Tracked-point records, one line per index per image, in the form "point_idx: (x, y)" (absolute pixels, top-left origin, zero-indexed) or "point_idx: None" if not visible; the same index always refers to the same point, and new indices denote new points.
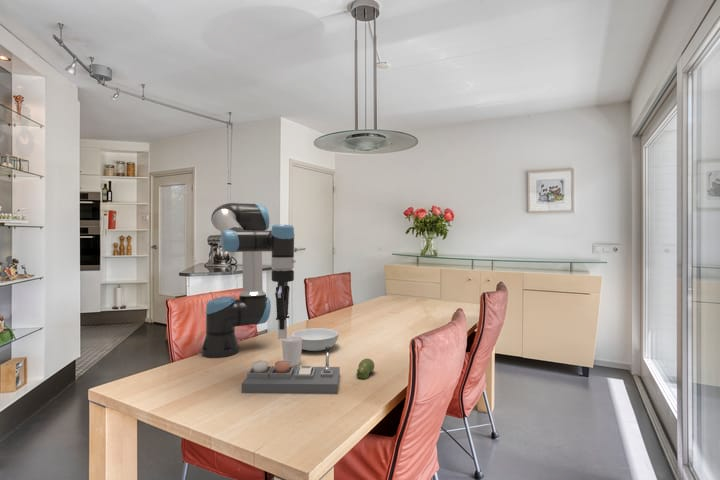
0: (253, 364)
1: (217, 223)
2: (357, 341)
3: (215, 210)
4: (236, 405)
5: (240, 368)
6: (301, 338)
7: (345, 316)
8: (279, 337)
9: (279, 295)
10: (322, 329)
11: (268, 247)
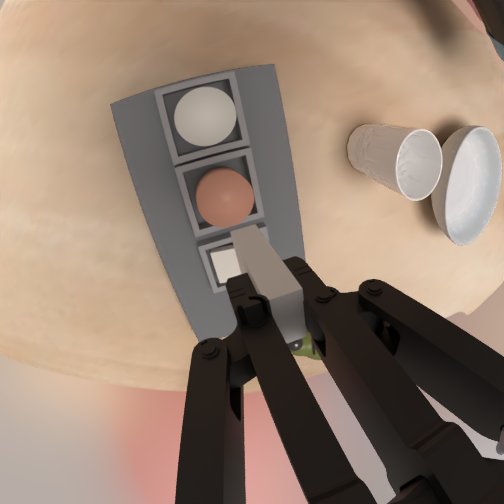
0: (181, 98)
1: None
2: (467, 248)
3: None
4: (48, 148)
5: (301, 12)
6: (423, 196)
7: None
8: (233, 241)
9: None
10: (496, 191)
11: None
